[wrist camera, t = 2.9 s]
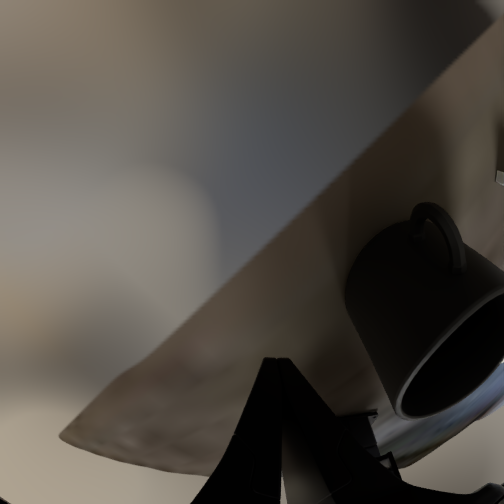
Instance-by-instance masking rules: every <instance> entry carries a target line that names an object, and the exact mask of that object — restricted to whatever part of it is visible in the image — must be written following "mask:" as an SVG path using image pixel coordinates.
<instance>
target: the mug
mask: <svg viewBox="0 0 504 504" xmlns="http://www.w3.org/2000/svg"><path fill="white" fill-rule="evenodd" d="M427 218H428V219H430V220H431V221H432V222H433V223H434V224H433V223H431V222H428V221H425V220H426V219H427ZM345 300H346V308H347V311H348V314H349V316H350V318H351V320H352V322H353V324H354V326H355V328H356V330H357V332H358V334H359V336H360V338H361V340H362V342H363V344H364V346H365V348H366V350H367V352H368V354H369V356H370V359H371V361H372V363H373V365H374V367H375V369H376V371H377V373H378V376H379V378H380V380H381V382H382V384H383V387H384V389H385V391H386V393H387V395H388V398H389V400H390V402H391V405H392V407H393V409H394V411H395V413H396V415H397V416H399V417H400V418H401V419H404V420H410V421H414V420H421V419H425V418H429V417H431V416H434V415H437V414H439V413H441V412H443V411H445V410H447V409H449V408H451V407H452V406H454V405H456V404H457V403H459V402H460V401H462V400H463V399H465V398H466V397H467V396H469V395H470V394H471V393H472V392H474V391H475V390H476V389H477V388H478V387H479V386H480V385H482V384H483V383H484V382H485V381H486V380H487V379H488V378H489V376H490V375H491V374H492V373H493V372H494V371H495V370H496V369H497V367H498V366H499V365H500V363H501V362H502V361H503V359H504V272H503V271H502V270H501V269H499V268H498V267H497V266H496V265H494V264H493V263H492V262H490V261H489V260H487V259H486V258H485V257H483V256H482V255H481V254H479V253H478V252H476V251H475V250H473V249H472V248H470V247H469V246H468V245H466V244H465V243H463V241H462V238H461V235H460V233H459V230H458V228H457V226H456V224H455V223H454V221H453V220H452V218H451V217H450V216H449V214H448V213H447V212H446V211H445V210H444V209H443V208H441V207H440V206H439V205H437V204H435V203H431V202H424V203H419V204H418V205H416V206H415V207H414V208H413V211H412V214H411V218H410V220H408V221H403V222H400V223H396V224H394V225H392V226H390V227H388V228H386V229H385V230H383V231H382V232H380V233H379V234H378V235H377V236H375V237H374V238H373V239H372V240H371V241H370V242H369V243H368V244H367V245H366V247H365V248H364V249H363V250H362V251H361V253H360V254H359V256H358V257H357V259H356V261H355V263H354V265H353V267H352V269H351V271H350V274H349V277H348V281H347V286H346V296H345Z"/></svg>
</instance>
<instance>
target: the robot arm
mask: <svg viewBox="0 0 504 504" xmlns="http://www.w3.org/2000/svg"><path fill="white" fill-rule="evenodd" d="M378 416H379V415H378V413H377V412H375V413H369V414H363V415H356V416H350V417H342V418H337V416H336V415H335V414H334V413H333V412H332V410H331V409H330V408H329V407H328V406H327V404H326V403H325V402H324V401H323V400H322V398H321V397H320V396H319V395H318V393H317V392H316V391H315V390H314V389H313V387H312V386H311V385H310V384H309V382H308V381H307V380H306V379H305V377H304V376H303V375H302V374H301V372H300V371H299V370H298V369H297V367H296V366H295V365H294V364H293V362H292V361H291V360H290V359H289V358H277V359H276V358H271V357H265V358H264V359H263V361H262V364H261V367H260V369H259V372H258V374H257V377H256V380H255V382H254V385H253V387H252V390H251V392H250V395H249V397H248V400H247V402H246V405H245V407H244V410H243V412H242V415H241V417H240V420H239V422H238V424H237V427H236V429H235V431H234V435H233V436H232V438H231V440H230V443H229V445H228V447H227V449H226V451H225V453H224V455H223V457H222V459H221V461H220V462H219V464H218V465H217V467H216V469H215V470H214V472H213V473H212V475H211V476H210V477H209V479H208V480H207V482H206V483H205V485H204V486H203V487H202V489H201V490H200V492H199V493H198V494H197V496H196V497H195V498H194V500H193V501H192V502H191V503H190V504H280V498H281V471H282V475H283V480H284V486H285V492H286V498H287V504H504V483H503V484H501V485H498V484H494V483H487V484H486V485H484V486H482V487H481V488H479V489H478V490H476V491H474V492H473V493H471V494H455V493H448V492H441V491H436V490H431V489H426V488H421V487H417V486H413V485H411V484H408V483H406V482H404V481H403V480H402V478H401V475H400V473H399V470H398V467H397V465H396V462H395V460H394V457H393V454H392V452H391V451H390V452H388V453H387V454H385V455H383V456H380V453H379V450H378V447H377V442H376V439H375V436H374V433H373V430H372V427H371V425H372V424H373V422H374V421H375V420H376V419H377V417H378ZM388 466H389V469H387V468H386V467H388ZM0 504H10V503H9V502H7V501H6V500H4V499H3V498H1V497H0Z"/></svg>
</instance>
